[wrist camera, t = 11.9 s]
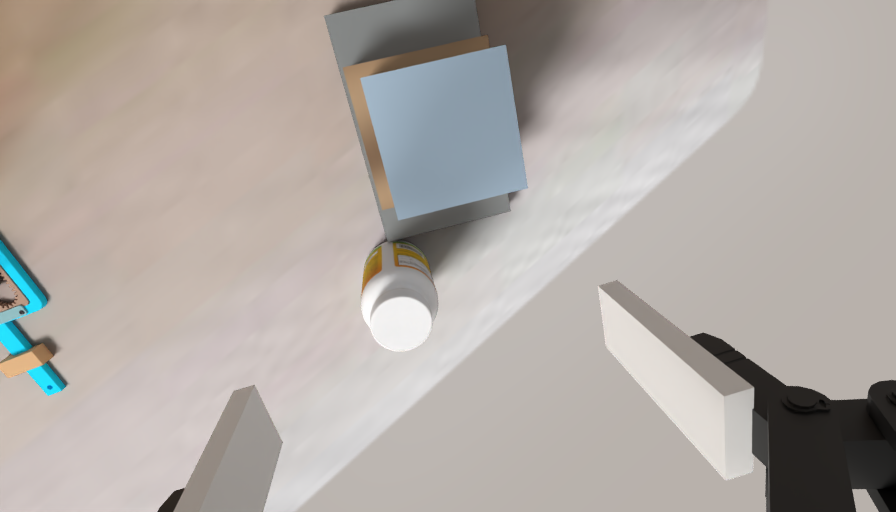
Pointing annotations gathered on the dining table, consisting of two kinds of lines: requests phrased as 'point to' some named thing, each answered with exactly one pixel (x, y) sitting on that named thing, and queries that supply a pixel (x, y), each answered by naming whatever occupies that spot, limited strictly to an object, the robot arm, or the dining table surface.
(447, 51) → the base brick
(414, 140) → the blue cube
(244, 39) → the dining table surface
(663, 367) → the robot arm
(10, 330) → the gear mechanism
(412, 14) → the board
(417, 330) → the supplement bottle
